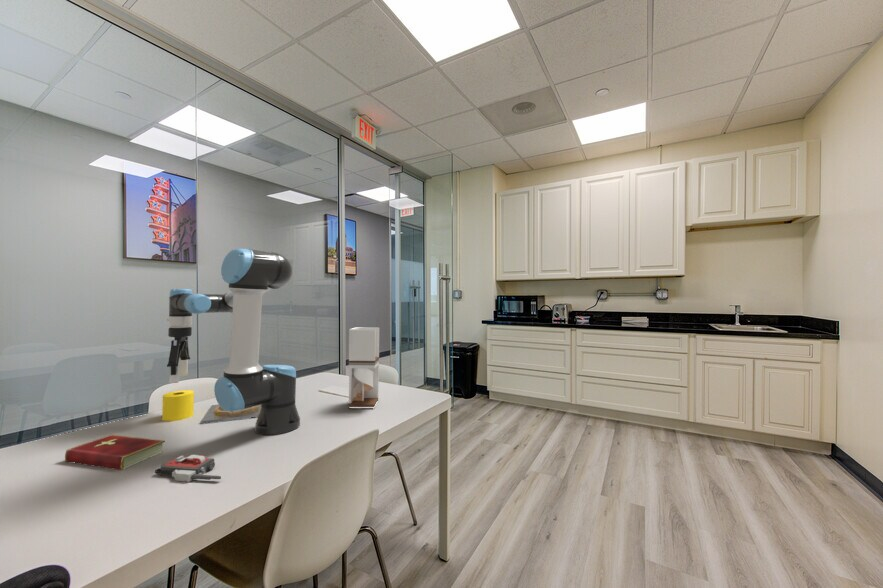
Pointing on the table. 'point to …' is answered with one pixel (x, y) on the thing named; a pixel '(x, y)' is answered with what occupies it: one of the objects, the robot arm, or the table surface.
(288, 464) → the table surface
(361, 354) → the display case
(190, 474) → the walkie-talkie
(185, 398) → the tape roll
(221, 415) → the ring collar plate
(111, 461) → the hardcover book
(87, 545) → the table surface
